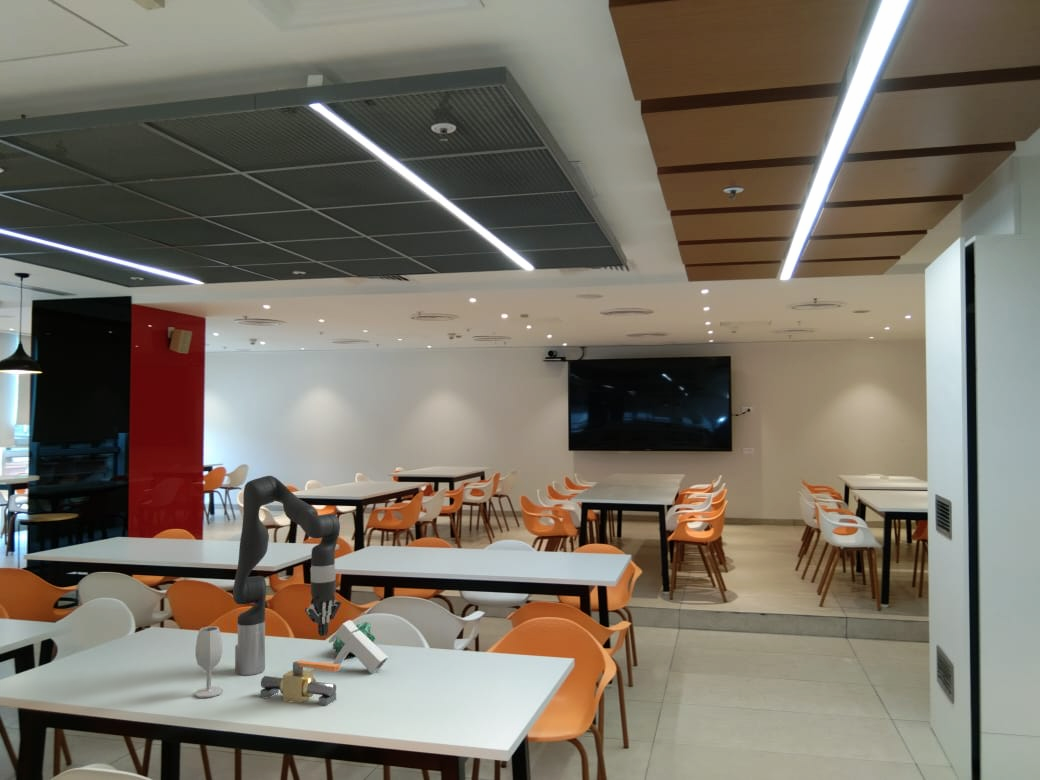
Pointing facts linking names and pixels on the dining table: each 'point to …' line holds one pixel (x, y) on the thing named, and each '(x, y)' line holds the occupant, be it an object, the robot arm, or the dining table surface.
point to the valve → (298, 687)
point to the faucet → (358, 647)
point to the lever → (314, 666)
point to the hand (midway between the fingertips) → (323, 635)
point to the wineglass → (208, 657)
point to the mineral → (362, 627)
